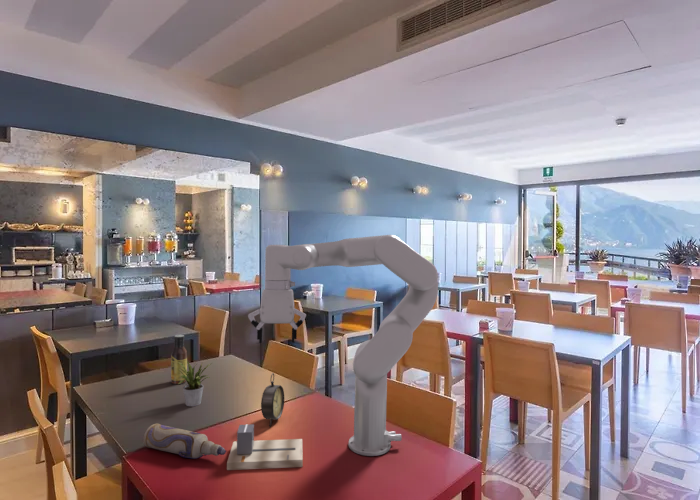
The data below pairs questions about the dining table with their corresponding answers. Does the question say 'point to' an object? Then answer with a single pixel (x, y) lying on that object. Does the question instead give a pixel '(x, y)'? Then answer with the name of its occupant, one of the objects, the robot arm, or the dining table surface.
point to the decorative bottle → (180, 442)
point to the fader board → (268, 455)
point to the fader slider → (245, 439)
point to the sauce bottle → (178, 359)
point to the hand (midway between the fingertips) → (277, 341)
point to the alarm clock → (272, 402)
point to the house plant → (192, 385)
